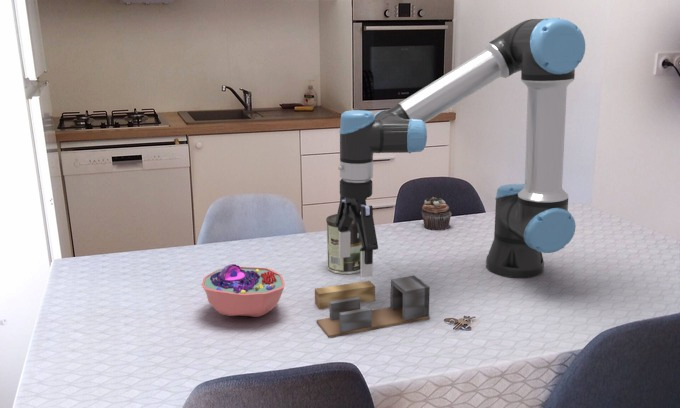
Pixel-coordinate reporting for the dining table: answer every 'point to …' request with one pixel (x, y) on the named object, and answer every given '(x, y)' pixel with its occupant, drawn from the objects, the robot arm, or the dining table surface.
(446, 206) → the cupcake
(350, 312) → the cap board
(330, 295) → the brass rectangular bar
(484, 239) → the dining table surface
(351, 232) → the coffee can
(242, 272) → the cell model
